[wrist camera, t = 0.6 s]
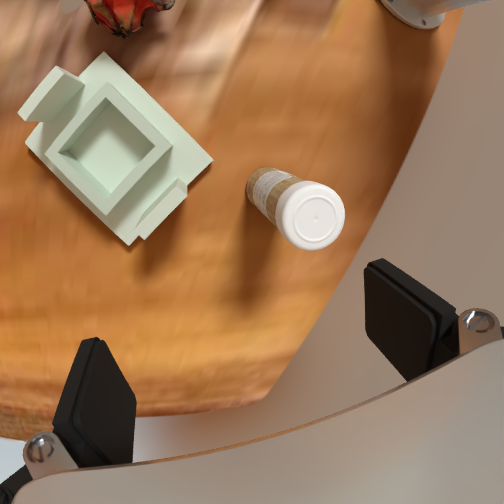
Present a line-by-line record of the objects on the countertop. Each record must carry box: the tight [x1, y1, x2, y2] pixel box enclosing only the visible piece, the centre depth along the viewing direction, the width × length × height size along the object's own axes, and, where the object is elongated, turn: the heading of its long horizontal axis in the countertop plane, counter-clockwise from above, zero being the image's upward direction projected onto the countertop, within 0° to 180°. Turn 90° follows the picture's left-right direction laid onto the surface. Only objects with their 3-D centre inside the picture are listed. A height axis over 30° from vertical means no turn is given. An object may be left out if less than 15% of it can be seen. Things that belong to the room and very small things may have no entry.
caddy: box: [18, 52, 213, 246], centre depth 25 cm, size 12×16×7 cm
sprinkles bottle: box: [246, 167, 345, 251], centre depth 27 cm, size 5×5×13 cm
